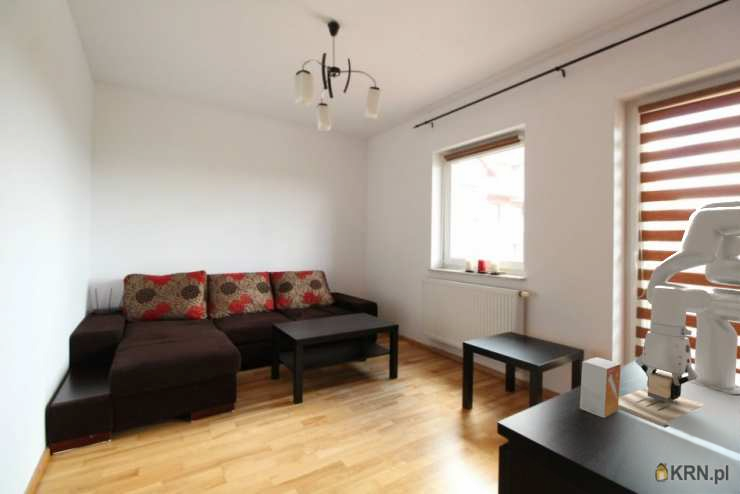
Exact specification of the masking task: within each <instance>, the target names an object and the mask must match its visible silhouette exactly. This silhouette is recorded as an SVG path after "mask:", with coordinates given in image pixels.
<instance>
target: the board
mask: <svg viewBox="0 0 740 494" xmlns="http://www.w3.org/2000/svg"><path fill="white" fill-rule="evenodd" d="M703 406H705V403H701V402H698V401H695V400H692V399H689V398H687V397H683V396H680V397H679V398H678V399H675V400H672V401H670V402H667V403H666V402H663V401H661V400H658V399H655V398H652V397H649V396H648V386H647V387H645V388H641V389H639V390H636V391H633V392H631V393H628V394H625V395H621V396H619V401H618V411H619V410H620V411H622V412H624V413H627V414H630V415H631V416H634V417H637V418H639V419H642V420H644V421H647V422H649V423H652V424H655V425H657V426H660V427H662V428H667V427H669V425H668V424H666V423H668V422H671V421H672V420H675V419H677V418H679V417H681V416H683V415H685V414H688V413H690V412H692V411H694V410H696V409H698V408H701V407H703Z"/></svg>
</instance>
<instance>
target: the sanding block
mask: <svg viewBox="0 0 740 494" xmlns="http://www.w3.org/2000/svg"><path fill="white" fill-rule="evenodd" d="M647 382H648V386H647V387H648V396H649V397H652V398H655V399H658V400H661V401H663V402H666V403H667V402H670V401H672V400H675V399H671V385H672V384H673V377H672V373H669V372H665V371H658V372H657V371H656V373H654V374H650V375H649V379H648V378H647ZM678 398H679V397H678ZM678 398H676V399H678Z"/></svg>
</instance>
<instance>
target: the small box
mask: <svg viewBox="0 0 740 494" xmlns="http://www.w3.org/2000/svg"><path fill="white" fill-rule="evenodd" d="M621 366H622V365H621V363H619V362H616V361H612V360H608V359H605V358H602V357H597V356H596V357H592V358H589V359H586V360H583V361H581V376H580V377H581V380H580V398H579V409H580V410H582V411H586V412H587V413H590V414H592V415H595V416H598V417H601V418H603V419H605V418H607V417H609V416H611V415H612V414H615V413H616V412H618V411H619V409H618V406H619V405H618V401H619V397H620V385H621V384H620V379H621V368H622V367H621Z"/></svg>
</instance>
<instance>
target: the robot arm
mask: <svg viewBox="0 0 740 494" xmlns="http://www.w3.org/2000/svg"><path fill="white" fill-rule="evenodd" d="M684 231H685V232H684V234H683V237H682V239H681V243H680V247H679V248H678V251H677V252H676V253H674V254H672V255H671V256H669V257H667V258H666V259H664V260H663V261H661V263H660V264H658V265H657V266H656V267H655V269H653V271H652V273H651V276H650V278H649V281H648V284H647V288H646V291H645V292H646V293H645V296H646V300H647V302H648V303H649V304H650V305H651V308H650V309H651V311H650V312H651V313H650V324H649V325H650V326H649V330H648V331H647V332H646V335H645V338H644V342H643V347H642V354H641V355H639V356H638V357H637V358H636V359H634V361H635V363H636V364H637V365H638V366H639V367H640V368H641V369H642V371H643V373H645V375H646V377H647V380H648V379H649V375H650V374H654V373H657V371H658V370H659V371H662V372H665V373H669V374H671V375H672V377H673V384H672V385H671V399H676V398H678V397H681V395H682V385H683V384H685V383H690V384H693V385H697V386H701V387H703V388H708V389H709V390H714V391H717V392H721V393H725V394H728V395H740V386H739V385H737V384H736V375H737V373H736V372H737V371H736V370H737V358H738V357H737V356H738V355H737V354H738V340H739V339H738V338H739V336H738V333H737V331H736V329H735V327H734V326H733V325H732V324H731V322H738V323H740V290H735V289H726V288H715V287H714V288H713V287H708V288H706V287H705V288H702V287H699V286H695V285H694V286H693V285H685V284H677V283H668V282H669V280H670V279H671V278H672V277H673V276H674V275H676V274H678V273H680V272H683V271H686V270H690V269H693V268H696V267H697V268H698V267H701V266H704V265H705V268H704V269H705V270H704V277H705V280H707V281H708V282H709V283H712V284H715V285H720V286H721V285H722V286H729V287H740V198H734V199H731V198H730V199H715V200H708V201H705V202H702V203H700V204H699V205H698V206H697V207H696V210H695V211H694V212H693V213H692V214H691V215H690V217H689V220H688V223H687V224H686V229H685V230H684ZM687 313H693V314H695V315H696V316H695V317H696V331H695V332H696V333H695V334H696V335H695V337H696V338H695V351H694V352H695V353H694V355H695V356H694V368H693V367H692V353H691V352H692V351H691V344H690V343H691V342H690V339H689V338H688V337H686V336H692V335H693V334H692V333H693V332H692V330H690V329H687V326H686V322H687V321H686V320H687ZM684 374H688V375H686V376H683V375H684ZM647 387H648V381H647Z"/></svg>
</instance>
